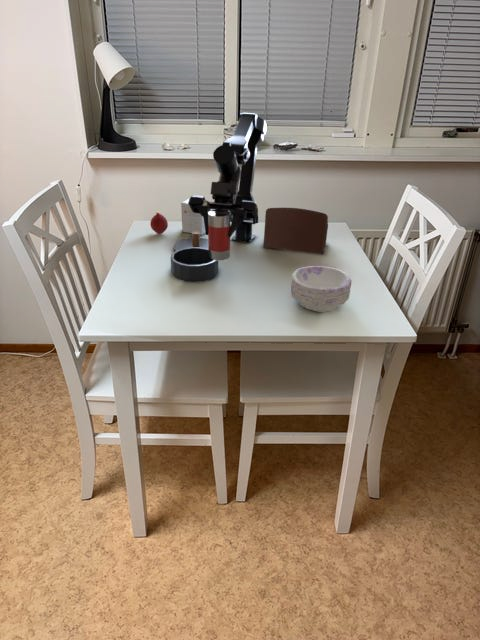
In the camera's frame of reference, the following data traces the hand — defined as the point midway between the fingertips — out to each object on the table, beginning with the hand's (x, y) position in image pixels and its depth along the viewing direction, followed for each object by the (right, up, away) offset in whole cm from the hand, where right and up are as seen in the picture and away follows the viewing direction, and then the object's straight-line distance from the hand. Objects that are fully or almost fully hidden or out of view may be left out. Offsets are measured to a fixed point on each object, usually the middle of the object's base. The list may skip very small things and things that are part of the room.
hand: (217, 235), depth 133 cm
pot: (-7, -9, +11) cm, 16 cm away
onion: (-22, +7, +37) cm, 43 cm away
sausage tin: (0, -5, +5) cm, 7 cm away
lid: (-8, +1, +26) cm, 27 cm away
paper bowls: (+27, -19, -4) cm, 33 cm away
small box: (-10, +8, +40) cm, 42 cm away
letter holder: (+24, +2, +31) cm, 39 cm away
